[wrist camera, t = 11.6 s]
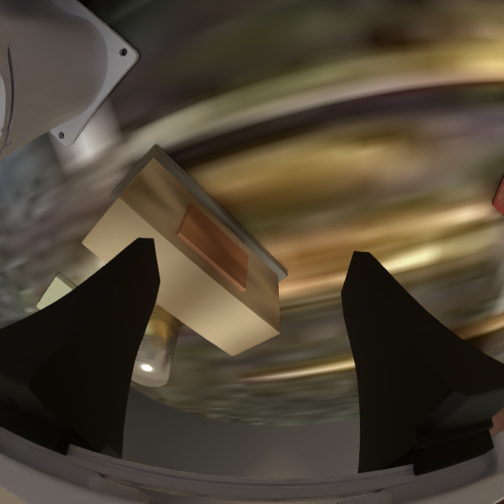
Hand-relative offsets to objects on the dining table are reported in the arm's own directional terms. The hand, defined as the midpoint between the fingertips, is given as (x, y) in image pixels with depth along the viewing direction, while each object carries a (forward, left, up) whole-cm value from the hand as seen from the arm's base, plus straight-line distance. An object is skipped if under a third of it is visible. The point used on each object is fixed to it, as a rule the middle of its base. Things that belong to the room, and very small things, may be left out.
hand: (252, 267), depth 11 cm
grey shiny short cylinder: (+5, -16, -9) cm, 19 cm away
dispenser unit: (+1, -6, -9) cm, 11 cm away
